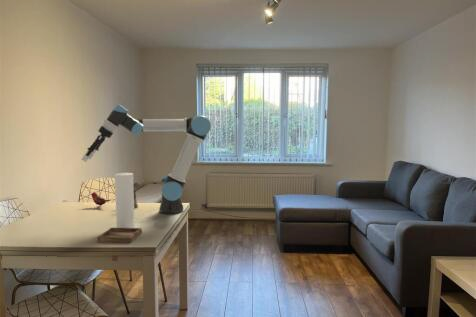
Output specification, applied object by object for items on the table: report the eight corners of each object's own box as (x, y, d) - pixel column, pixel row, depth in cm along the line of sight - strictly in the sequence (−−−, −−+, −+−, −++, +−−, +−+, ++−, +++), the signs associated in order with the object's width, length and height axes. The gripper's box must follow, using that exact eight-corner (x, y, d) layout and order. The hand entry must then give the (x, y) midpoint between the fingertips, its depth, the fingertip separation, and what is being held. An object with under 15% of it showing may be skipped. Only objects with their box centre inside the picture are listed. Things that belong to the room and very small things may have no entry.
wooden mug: (130, 211, 236) (129, 183, 234) (121, 207, 246) (120, 181, 244) (143, 208, 242) (142, 181, 240) (133, 205, 252) (133, 179, 250)
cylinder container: (124, 231, 192) (122, 174, 189) (112, 228, 197) (110, 173, 194) (138, 227, 200) (136, 172, 197) (126, 224, 205) (124, 171, 202)
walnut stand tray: (111, 232, 190) (111, 227, 190) (141, 232, 189) (141, 228, 189) (97, 242, 174) (97, 237, 174) (130, 243, 173) (130, 237, 173)
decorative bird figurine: (93, 206, 251) (92, 191, 250) (112, 208, 243) (112, 193, 242) (90, 206, 248) (89, 192, 247) (109, 209, 240) (109, 194, 239)
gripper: (105, 125, 221) (84, 153, 220) (98, 125, 196) (75, 157, 195) (115, 132, 222) (95, 160, 221) (111, 133, 198) (87, 165, 197)
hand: (85, 159), depth 208 cm, fingers open, 13 cm apart
